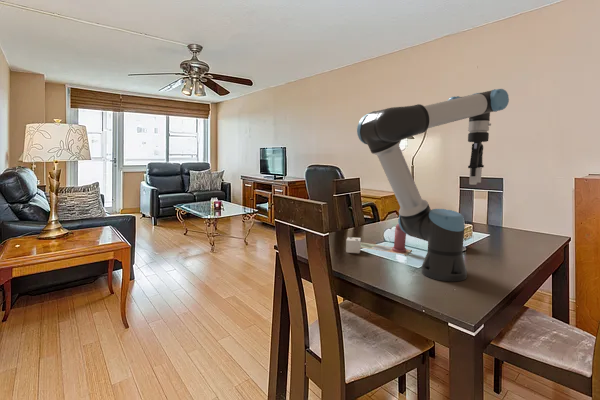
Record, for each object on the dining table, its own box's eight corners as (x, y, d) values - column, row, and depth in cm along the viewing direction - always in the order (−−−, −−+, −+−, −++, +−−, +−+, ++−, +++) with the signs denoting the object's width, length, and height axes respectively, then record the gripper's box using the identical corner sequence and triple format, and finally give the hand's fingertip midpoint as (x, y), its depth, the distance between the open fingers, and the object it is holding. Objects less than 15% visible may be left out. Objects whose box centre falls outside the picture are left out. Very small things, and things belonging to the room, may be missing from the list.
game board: (405, 255, 143) (405, 254, 143) (353, 247, 157) (353, 246, 157) (411, 250, 151) (411, 250, 150) (361, 243, 165) (361, 242, 165)
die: (359, 254, 146) (359, 240, 145) (346, 253, 147) (346, 239, 146) (360, 250, 151) (360, 237, 151) (347, 249, 153) (347, 236, 152)
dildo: (402, 253, 145) (404, 225, 143) (390, 250, 149) (392, 223, 147) (408, 250, 150) (410, 223, 147) (395, 247, 154) (397, 220, 151)
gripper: (485, 129, 123) (481, 185, 126) (491, 133, 143) (488, 182, 146) (463, 130, 127) (460, 185, 130) (472, 134, 147) (469, 181, 150)
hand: (475, 183), depth 138 cm, fingers open, 13 cm apart
